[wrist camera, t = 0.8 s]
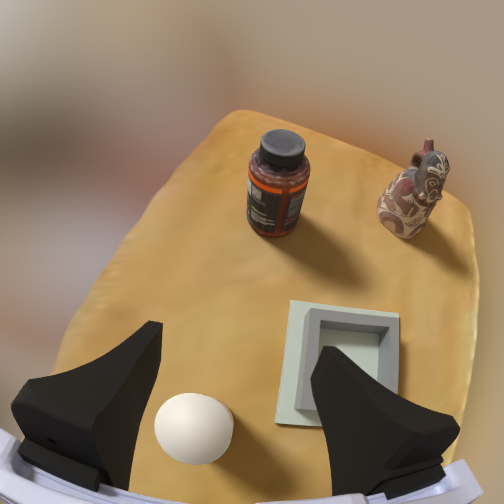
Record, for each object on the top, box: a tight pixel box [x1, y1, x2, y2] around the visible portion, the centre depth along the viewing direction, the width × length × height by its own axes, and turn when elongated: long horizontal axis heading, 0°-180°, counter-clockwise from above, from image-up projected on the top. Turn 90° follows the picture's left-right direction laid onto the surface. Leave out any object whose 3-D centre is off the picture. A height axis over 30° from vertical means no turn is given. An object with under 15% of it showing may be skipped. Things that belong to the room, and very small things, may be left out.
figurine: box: [376, 139, 450, 239], centre depth 30 cm, size 7×7×12 cm
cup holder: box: [274, 300, 399, 426], centre depth 24 cm, size 12×12×3 cm
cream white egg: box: [155, 393, 234, 465], centre depth 19 cm, size 5×5×8 cm
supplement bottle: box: [247, 129, 310, 237], centre depth 29 cm, size 6×6×11 cm
